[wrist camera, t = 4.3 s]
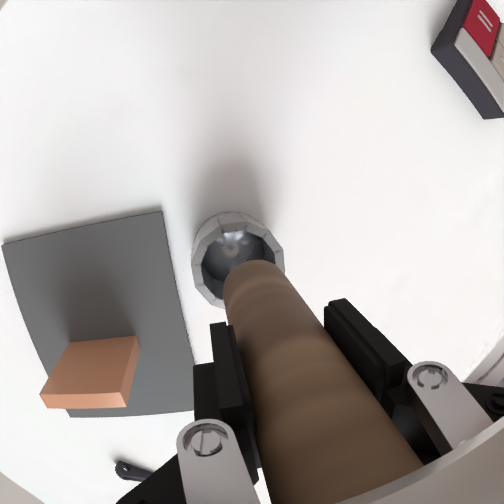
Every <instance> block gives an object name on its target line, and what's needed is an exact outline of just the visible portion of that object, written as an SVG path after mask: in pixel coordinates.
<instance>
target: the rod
mask: <svg viewBox="0 0 504 504" xmlns="http://www.w3.org/2000/svg"><path fill="white" fill-rule="evenodd" d="M222 293H223V300H224V305H225V310H226V315H227V319H228V324H229V325H233V327H234V332H235V336H236V340H237V344H238V348H239V352H240V356H241V361H242V365H243V369H244V373H245V377H246V381H247V385H248V389H249V392H250V396H251V401H252V405H253V411H254V416H255V422H256V428H257V432H256V438H255V440H256V446H257V450H258V454H259V458H260V462H261V466H262V470H263V474H264V477H265V481H266V485H267V489H268V493H269V496H270V500H271V504H335V503H338V502H341V501H344V500H347V499H350V498H353V497H355V496H358V495H361V494H363V493H366V492H368V491H371V490H374V489H376V488H378V487H381V486H383V485H386V484H388V483H390V482H392V481H395V480H397V479H399V478H401V477H403V476H405V475H408V474H410V473H412V472H414V471H416V470H418V469H420V468H422V467H424V465H423V463H422V462H421V461H420V459H419V458H418V456H417V455H416V454H415V452H414V451H413V449H412V448H411V447H410V445H409V444H408V442H407V441H406V440H405V438H404V437H403V435H402V434H401V433H400V431H399V430H398V428H397V427H396V426H395V424H394V423H393V421H392V420H391V419H390V417H389V416H388V414H387V413H386V412H385V410H384V409H383V408H382V406H381V405H380V403H379V402H378V401H377V399H376V398H375V397H374V395H373V394H372V392H371V391H370V390H369V388H368V387H367V386H366V384H365V383H364V381H363V380H362V379H361V377H360V376H359V375H358V373H357V372H356V370H355V369H354V368H353V366H352V365H351V364H350V362H349V361H348V360H347V358H346V357H345V355H344V354H343V353H342V351H341V350H340V349H339V347H338V346H337V345H336V343H335V342H334V341H333V339H332V338H331V336H330V335H329V334H328V332H327V331H326V330H325V328H324V327H323V326H322V324H321V323H320V322H319V320H318V319H317V318H316V316H315V315H314V314H313V312H312V311H311V309H310V308H309V307H308V305H307V304H306V303H305V301H304V300H303V299H302V297H301V296H300V295H299V293H298V292H297V291H296V289H295V288H294V287H293V285H292V284H291V283H290V281H289V280H288V279H287V277H286V276H285V275H284V273H283V272H282V271H281V270H280V268H278V267H277V266H276V265H275V264H273V263H271V262H268V261H265V260H250V261H246V262H243V263H241V264H239V265H238V266H236V267H235V268H234V269H233V270H232V271H231V272H230V273H229V274H228V276H227V277H226V279H225V282H224V284H223V292H222Z"/></svg>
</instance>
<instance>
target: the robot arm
mask: <svg viewBox="0 0 504 504" xmlns="http://www.w3.org/2000/svg"><path fill="white" fill-rule="evenodd" d="M324 328H325V330H326V331H327V332H328V334H329V335H330V336H331V338H332V339H333V341H334V342H335V343H336V345H337V346H338V347H339V349H340V350H341V351H342V353H343V354H344V355H345V357H346V358H347V360H348V361H349V362H350V364H351V365H352V366H353V368H354V369H355V370H356V372H357V373H358V375H359V376H360V377H361V379H362V380H363V381H364V383H365V384H366V386H367V387H368V388H369V390H370V391H371V392H372V394H373V395H374V397H375V398H376V399H377V401H378V402H379V403H380V405H381V406H382V408H383V409H384V410H385V412H386V413H387V414H388V416H389V417H390V419H391V420H392V421H393V423H394V424H395V426H396V427H397V428H398V430H399V431H400V433H401V434H402V435H403V437H404V438H405V440H406V441H407V442H408V444H409V445H410V447H411V448H412V449H413V451H414V452H415V454H416V455H417V456H418V458H419V459H420V461H421V462H422V463H423V465H424V467H422V468H420V469H418V470H416V471H414V472H412V473H410V474H408V475H405V476H403V477H401V478H399V479H397V480H395V481H392V482H390V483H388V484H386V485H383V486H381V487H378V488H376V489H374V490H371V491H368V492H366V493H363V494H361V495H358V496H355V497H353V498H350V499H347V500H344V501H341V502H338V503H335V504H504V388H502V387H495V386H486V385H478V384H470V383H463V382H460V381H459V380H458V378H457V377H456V376H455V375H454V374H453V373H452V371H451V370H450V369H449V368H448V367H446V366H445V365H443V364H441V363H438V362H434V361H424V362H419V363H417V364H415V365H412V364H411V363H410V362H409V361H408V360H407V359H406V358H405V356H404V355H403V354H402V353H401V352H400V351H399V350H398V349H397V348H396V347H395V346H394V345H393V344H392V343H391V342H390V341H389V340H388V339H387V338H386V337H385V336H384V335H383V334H382V333H381V332H380V331H379V330H378V329H377V328H375V327H374V326H373V325H372V324H371V323H370V322H369V321H368V320H367V319H366V318H365V317H364V316H363V315H362V314H361V313H360V312H359V311H358V310H357V309H356V308H355V307H354V306H353V305H352V304H351V303H350V302H349V301H348V300H347V299H345V298H342V299H338V300H334V301H330V302H329V304H328V306H325V307H324ZM210 333H211V342H212V351H213V360H214V362H212V363H205V364H199V365H193V393H194V418H195V422H192V423H190V424H188V425H187V426H185V427H184V428H183V429H182V430H181V431H180V432H179V435H178V437H177V442H176V446H177V454H176V455H175V456H173V457H172V458H171V459H170V460H169V461H167V462H166V463H165V464H164V465H163V466H161V467H160V468H159V469H158V470H156V471H155V472H154V473H153V474H152V475H150V476H149V477H148V478H146V479H145V480H144V481H143V482H141V483H140V484H139V485H138V486H136V487H135V488H134V489H132V490H131V491H130V492H128V493H127V494H126V495H124V496H123V497H122V498H121V499H120V500H119V501H118V502H117V503H116V504H260V501H259V499H258V496H257V494H256V491H255V489H254V485H255V484H256V483H257V482H258V480H259V477H258V472H257V468H262V466H261V462H260V458H259V454H258V450H257V446H256V440H255V438H256V432H257V428H256V422H255V416H254V411H253V405H252V401H251V396H250V392H249V389H248V385H247V381H246V377H245V373H244V369H243V365H242V361H241V356H240V352H239V348H238V344H237V340H236V336H235V332H234V327H233V325H228V326H226V322H220V323H213V324H210Z"/></svg>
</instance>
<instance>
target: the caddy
mask: <svg viewBox="0 0 504 504" xmlns="http://www.w3.org/2000/svg"><path fill="white" fill-rule="evenodd" d="M250 260H265V261H268V262H271V263H273V264H275V265H276V266H277V267H278V268H280V270H281V271H282V272H283V273H284V274H285V266H284V255H283V249H282V247H281V246H280V245H279V243H278V242H277V241H276V239H275V238H274V237H273V235H272V234H271V233H270V231H269V230H268V229H267V228H266V227H264V226H263V225H262V224H261V223H260V222H259V221H258V220H255V219H253V218H252V217H250V216H248V215H246V214H243V213H238V212H225V213H221V214H218V215H215V216H213V217H212V218H210V219H209V220H207V221H206V222H205V223H204V224H203V225H202V226H201V227H200V229H199V231H198V232H197V234H196V237H195V240H194V244H193V247H192V255H191V267H192V273H193V278H194V283H195V287H196V289H197V290H198V291H199V292H200V293H201V294H202V295H203V297H204V298H205V299H206V300H207V301H208V302H209V303H210V304H211V305H213V306H216V307H219V308H223V309H225V305H224V300H223V293H222V292H223V284H224V282H225V279H226V277H227V276H228V274H229V273H230V272H231V271H232V270H233V269H234V268H235V267H236V266H238V265H239V264H241V263H243V262H246V261H250Z"/></svg>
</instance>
